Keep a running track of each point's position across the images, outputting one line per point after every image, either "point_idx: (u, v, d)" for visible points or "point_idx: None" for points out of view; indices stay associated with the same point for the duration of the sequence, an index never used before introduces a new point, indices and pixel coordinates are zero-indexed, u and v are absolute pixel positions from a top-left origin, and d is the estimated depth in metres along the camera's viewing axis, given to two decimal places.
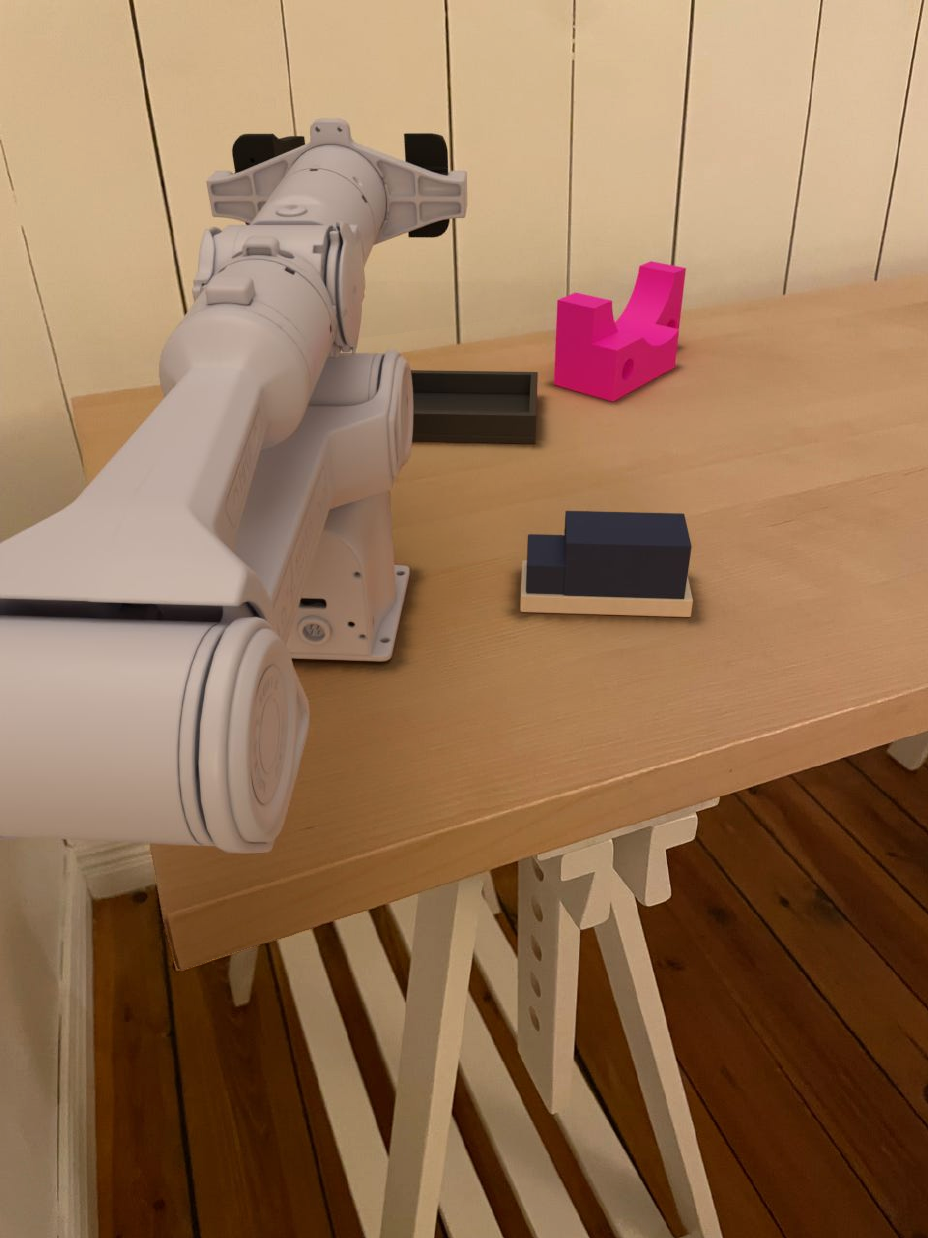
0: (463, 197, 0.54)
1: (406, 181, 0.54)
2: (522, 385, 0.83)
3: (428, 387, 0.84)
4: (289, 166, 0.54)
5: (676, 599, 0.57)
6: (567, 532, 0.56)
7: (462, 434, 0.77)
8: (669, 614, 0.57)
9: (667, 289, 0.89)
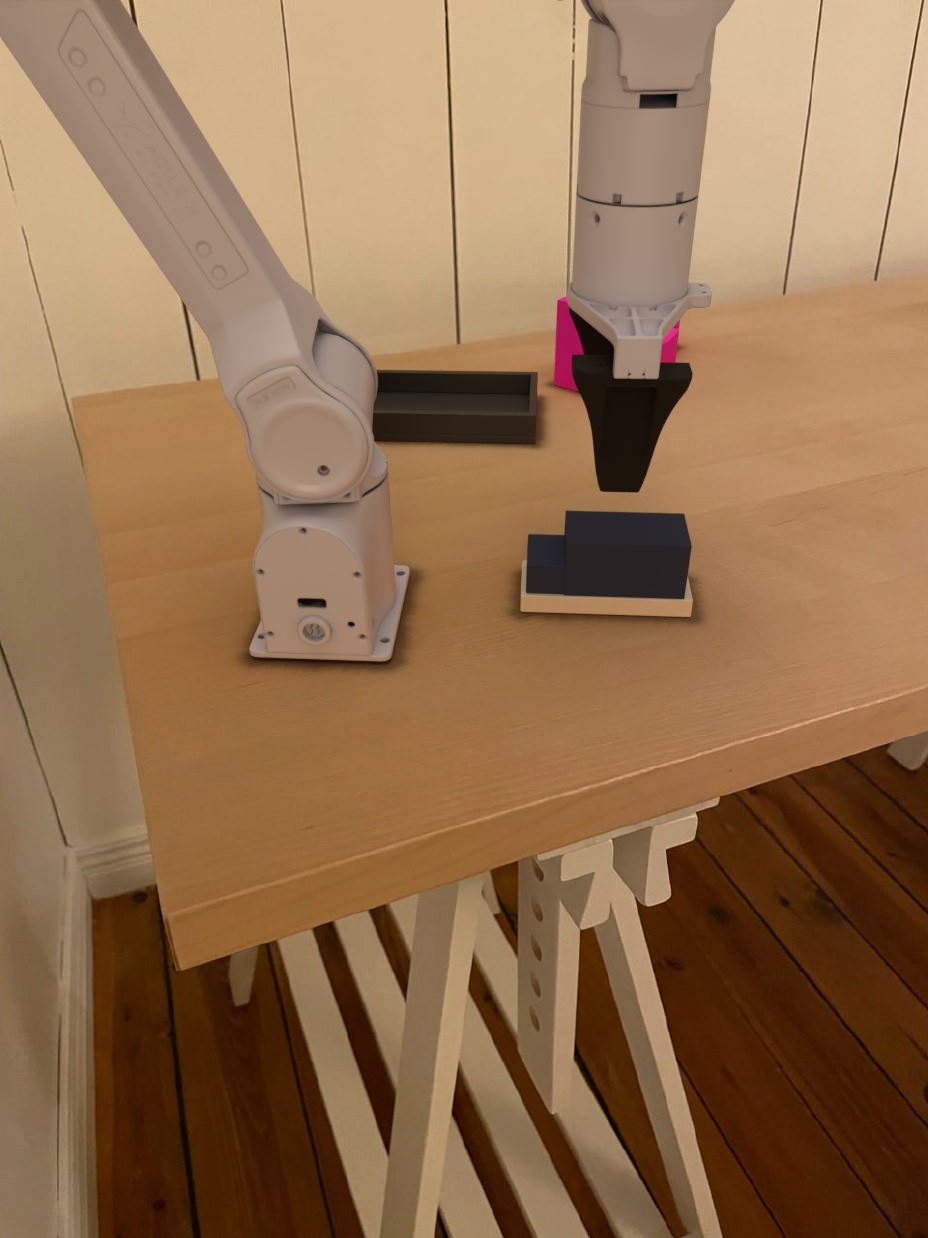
0: (642, 336, 0.43)
1: None
2: (522, 385, 0.83)
3: (428, 387, 0.84)
4: None
5: (676, 599, 0.57)
6: (567, 532, 0.56)
7: (462, 434, 0.77)
8: (669, 614, 0.57)
9: None
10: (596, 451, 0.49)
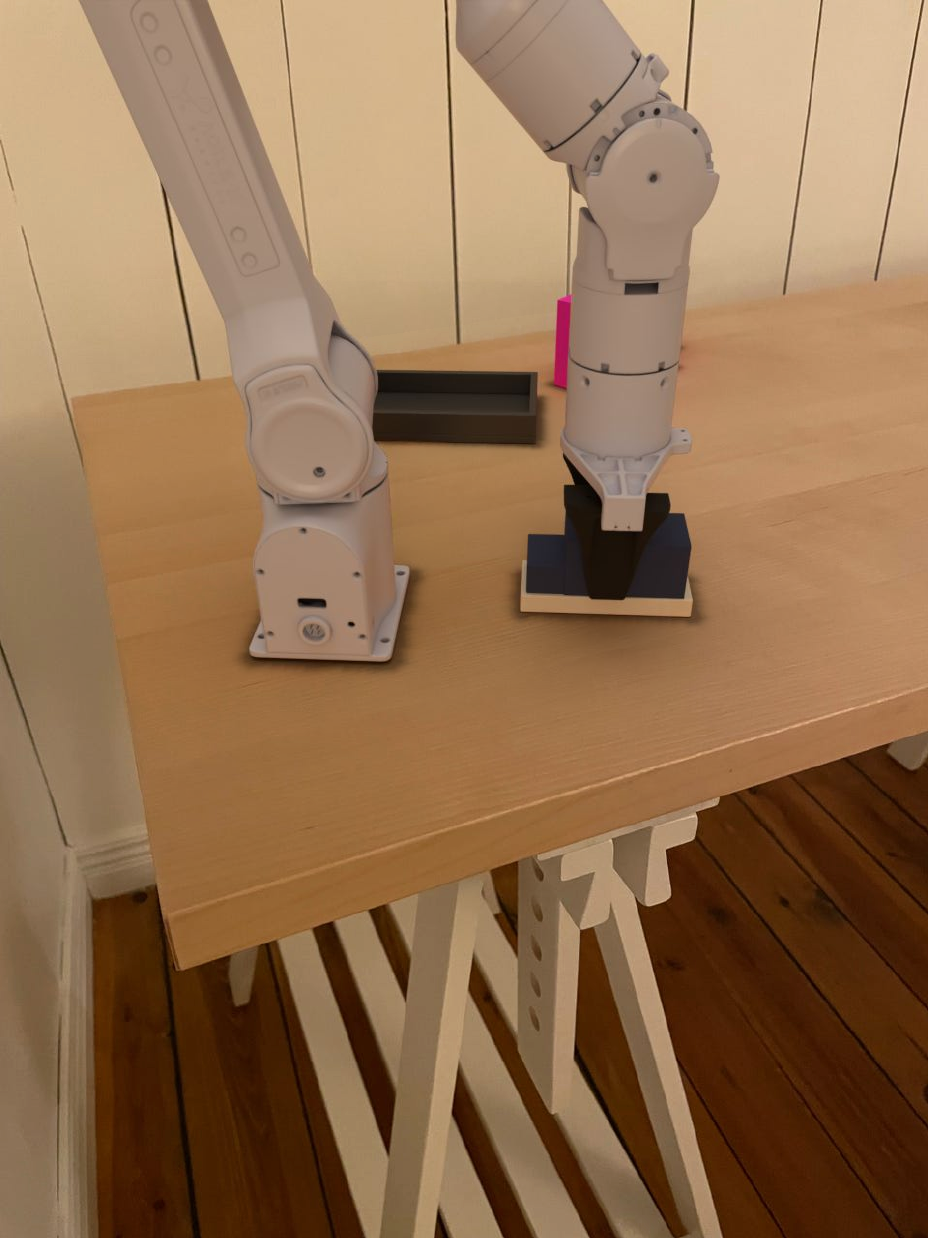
0: (627, 496, 0.47)
1: None
2: (522, 385, 0.83)
3: (428, 387, 0.84)
4: None
5: (676, 599, 0.57)
6: (567, 532, 0.56)
7: (462, 434, 0.77)
8: (669, 614, 0.57)
9: None
10: (586, 566, 0.55)
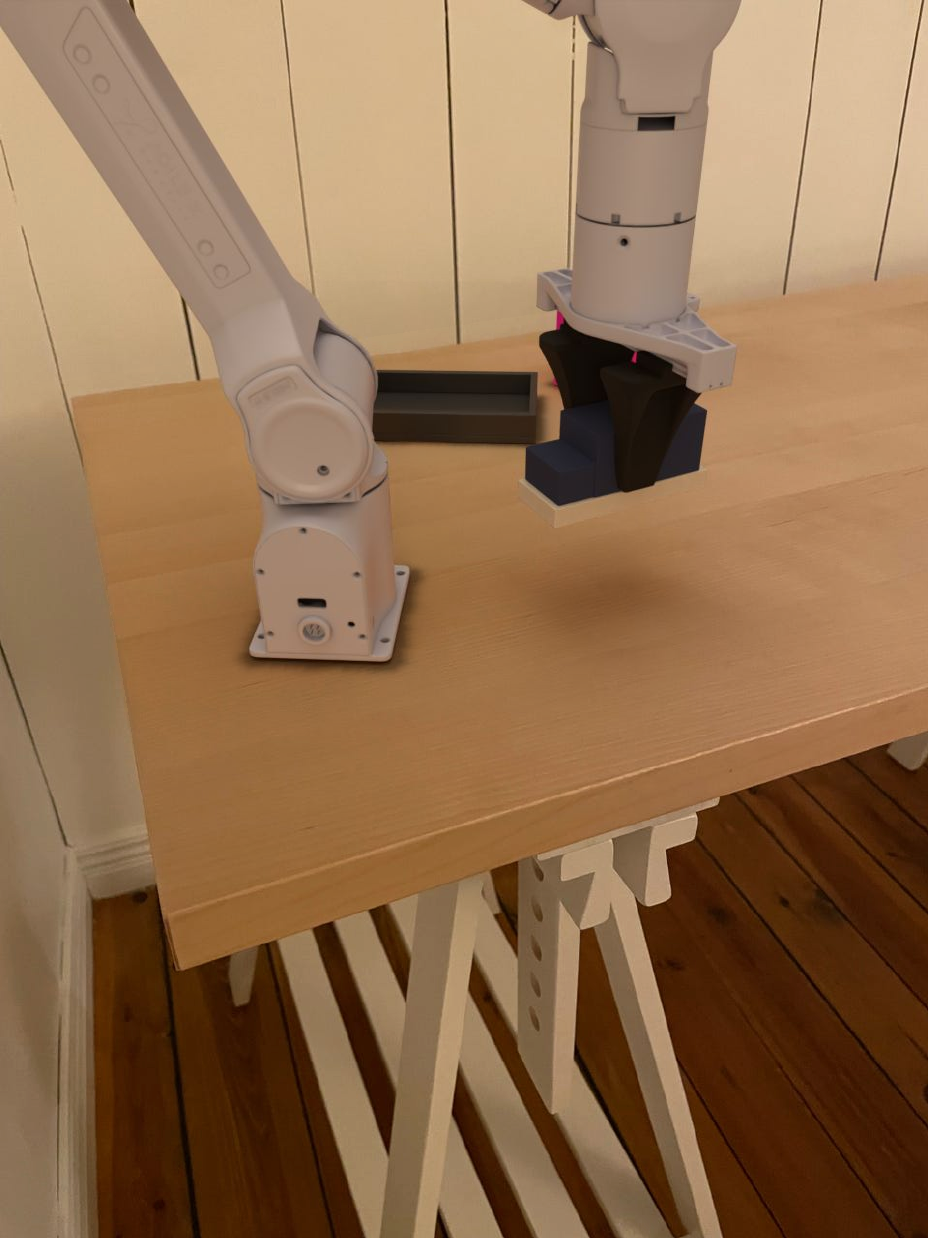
0: (721, 348, 0.44)
1: None
2: (522, 385, 0.83)
3: (428, 387, 0.84)
4: None
5: (693, 472, 0.55)
6: (587, 427, 0.51)
7: (462, 434, 0.77)
8: (687, 490, 0.55)
9: None
10: (627, 455, 0.50)
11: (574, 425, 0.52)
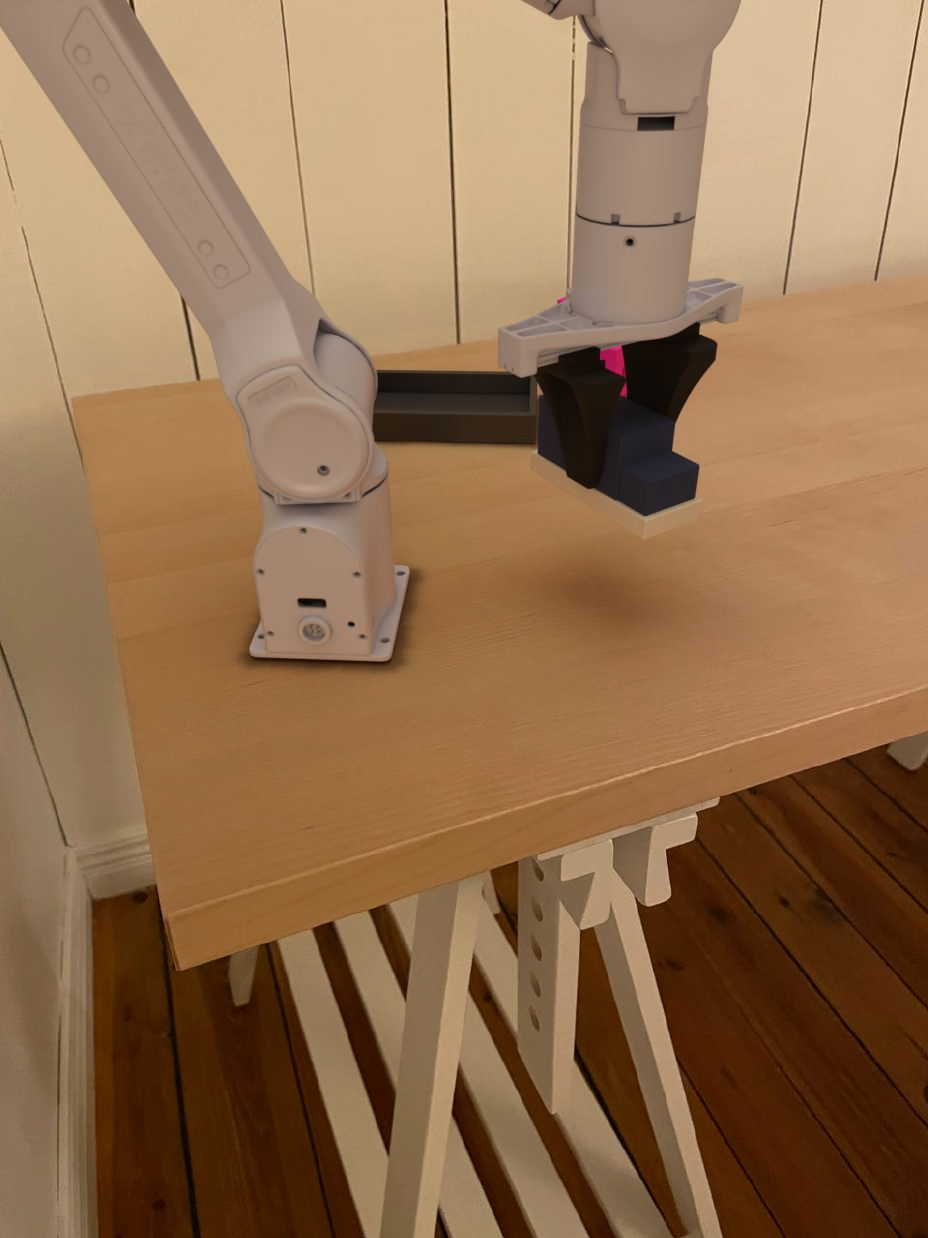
0: None
1: None
2: (522, 385, 0.83)
3: (428, 387, 0.84)
4: (568, 304, 0.49)
5: None
6: (658, 425, 0.51)
7: (462, 434, 0.77)
8: None
9: None
10: None
11: (642, 437, 0.51)
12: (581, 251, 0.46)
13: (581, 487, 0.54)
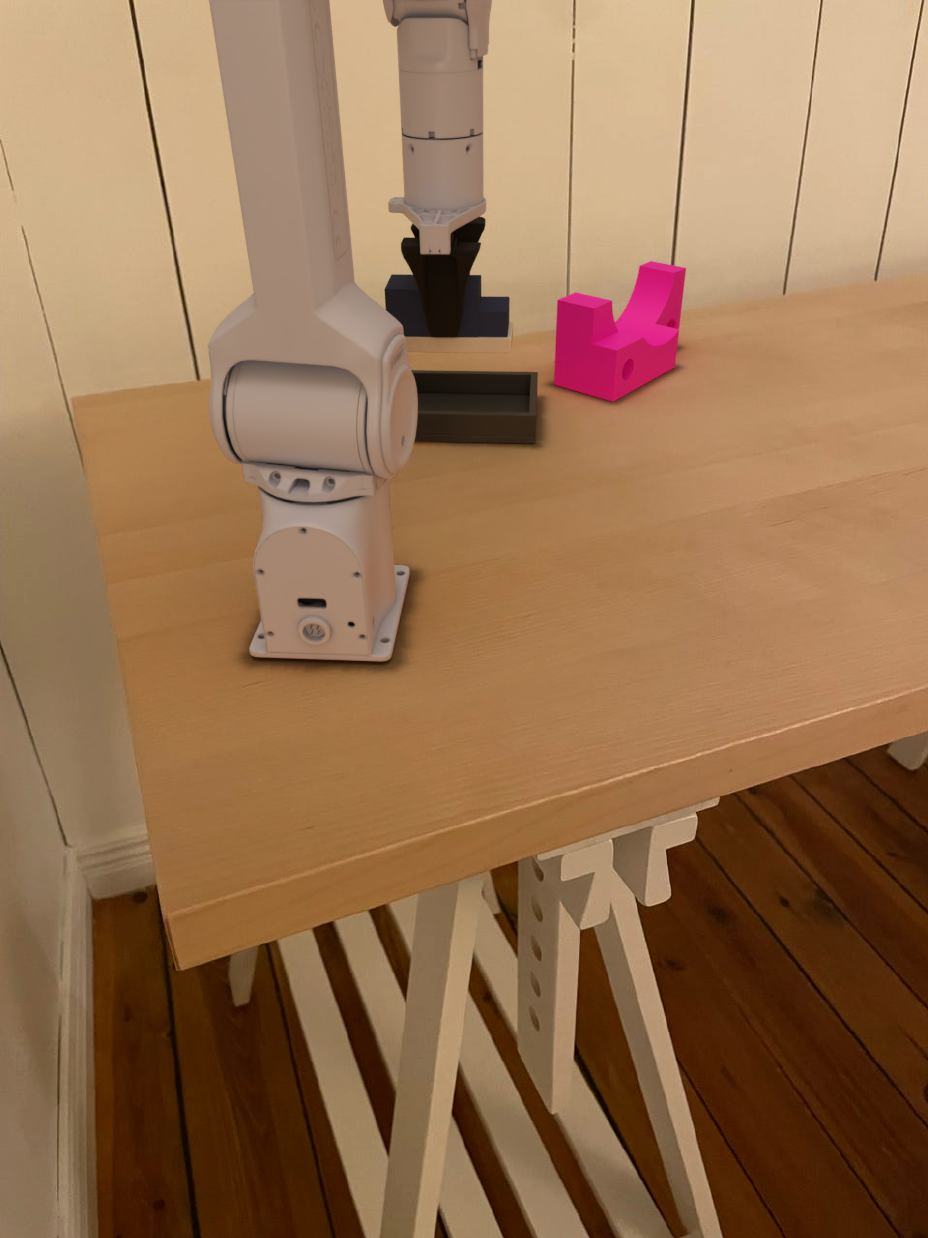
0: None
1: None
2: (522, 385, 0.83)
3: (428, 387, 0.84)
4: (416, 207, 0.69)
5: None
6: (479, 279, 0.74)
7: (462, 434, 0.77)
8: None
9: (667, 289, 0.89)
10: None
11: (479, 287, 0.73)
12: (433, 162, 0.66)
13: (442, 341, 0.74)
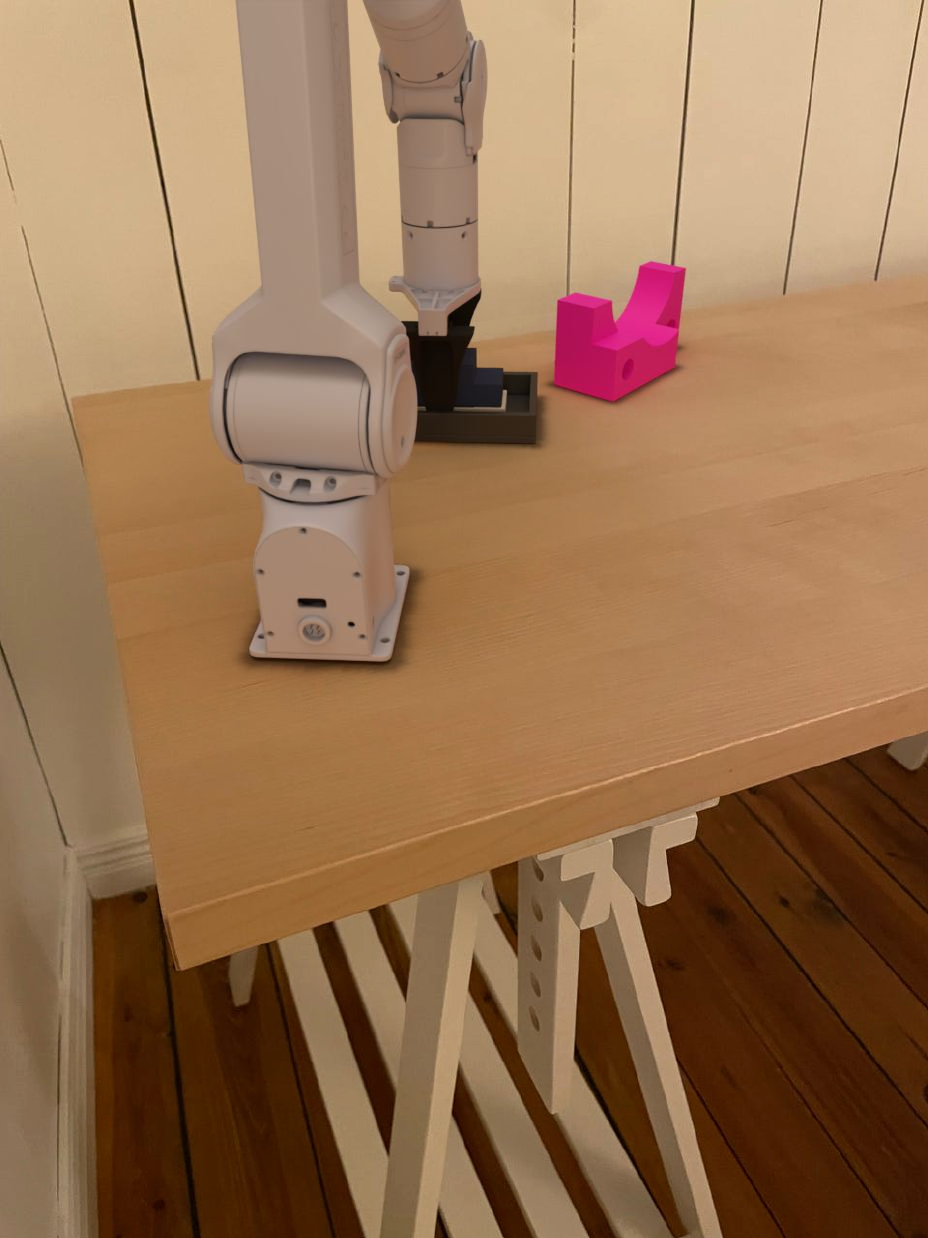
0: None
1: None
2: (522, 385, 0.83)
3: None
4: (415, 288, 0.73)
5: None
6: (474, 352, 0.78)
7: (462, 434, 0.77)
8: None
9: (667, 289, 0.89)
10: None
11: None
12: (431, 248, 0.71)
13: None
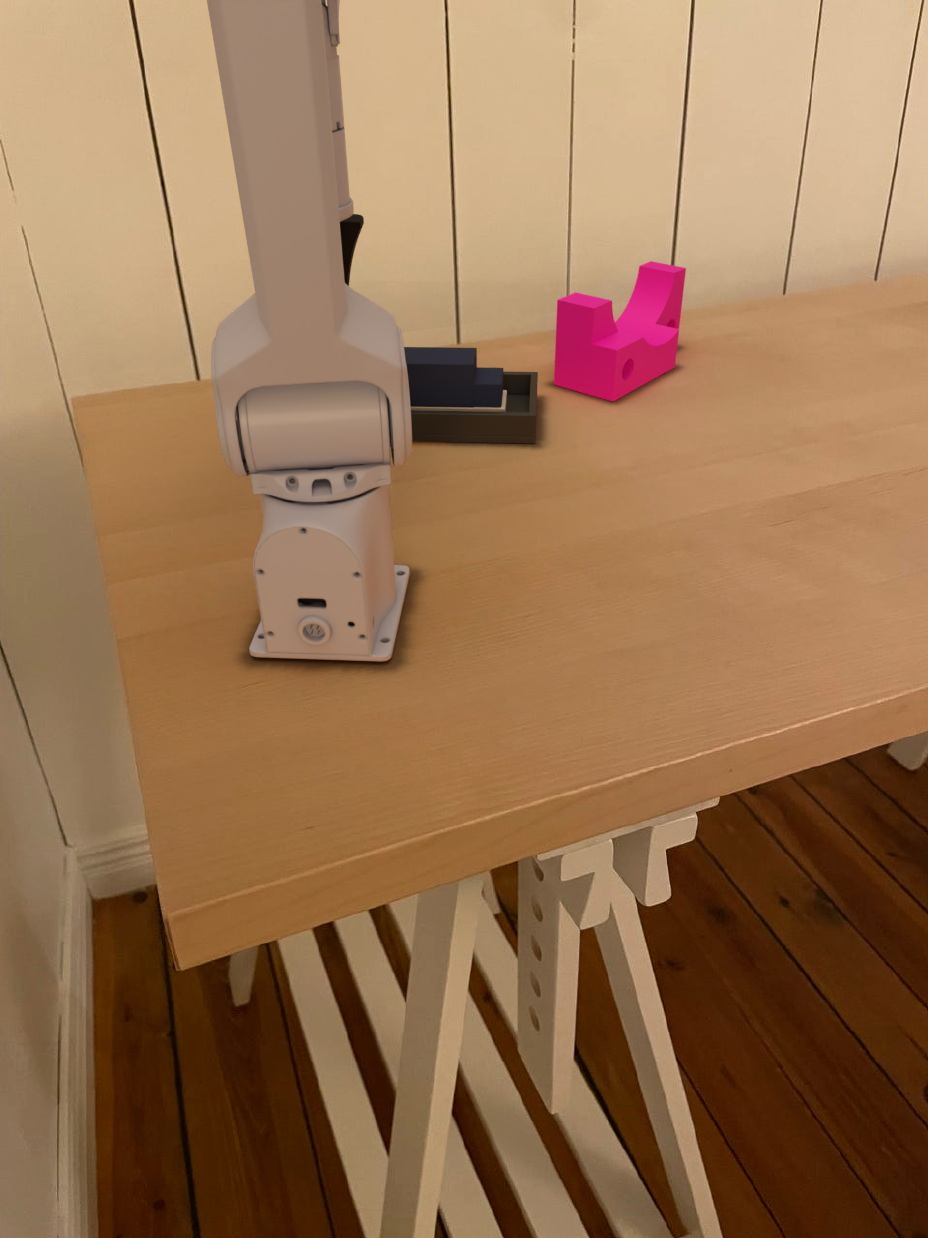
0: None
1: None
2: (522, 385, 0.83)
3: None
4: None
5: None
6: (474, 352, 0.78)
7: (462, 434, 0.77)
8: None
9: (667, 289, 0.89)
10: (347, 285, 0.72)
11: None
12: None
13: None
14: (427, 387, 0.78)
